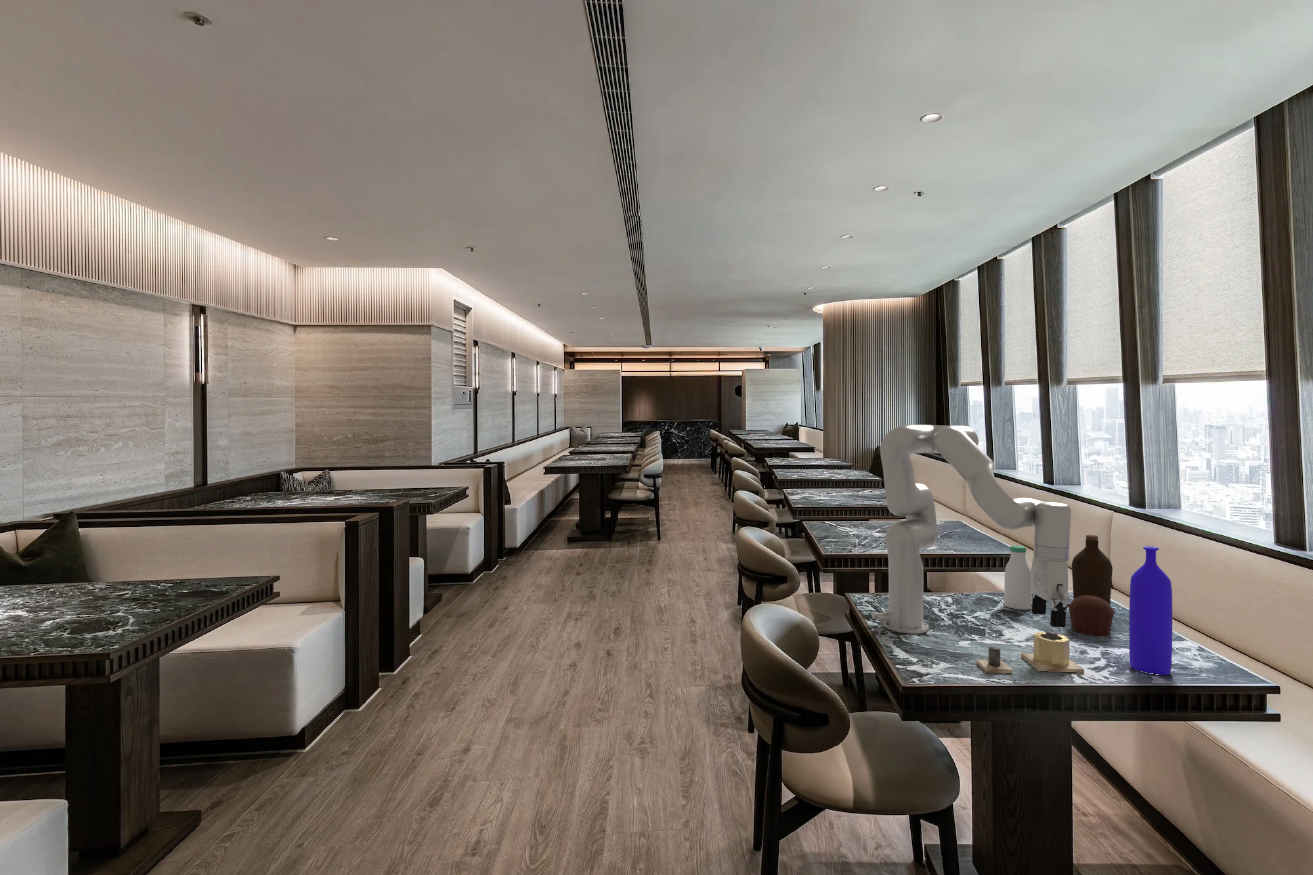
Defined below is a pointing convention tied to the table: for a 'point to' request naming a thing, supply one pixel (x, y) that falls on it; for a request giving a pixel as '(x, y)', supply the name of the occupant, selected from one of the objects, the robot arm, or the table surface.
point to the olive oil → (1092, 571)
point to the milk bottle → (1018, 580)
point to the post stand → (1044, 667)
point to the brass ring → (1051, 650)
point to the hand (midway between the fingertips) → (1047, 620)
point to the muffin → (1091, 615)
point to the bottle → (1150, 618)
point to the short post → (994, 662)
